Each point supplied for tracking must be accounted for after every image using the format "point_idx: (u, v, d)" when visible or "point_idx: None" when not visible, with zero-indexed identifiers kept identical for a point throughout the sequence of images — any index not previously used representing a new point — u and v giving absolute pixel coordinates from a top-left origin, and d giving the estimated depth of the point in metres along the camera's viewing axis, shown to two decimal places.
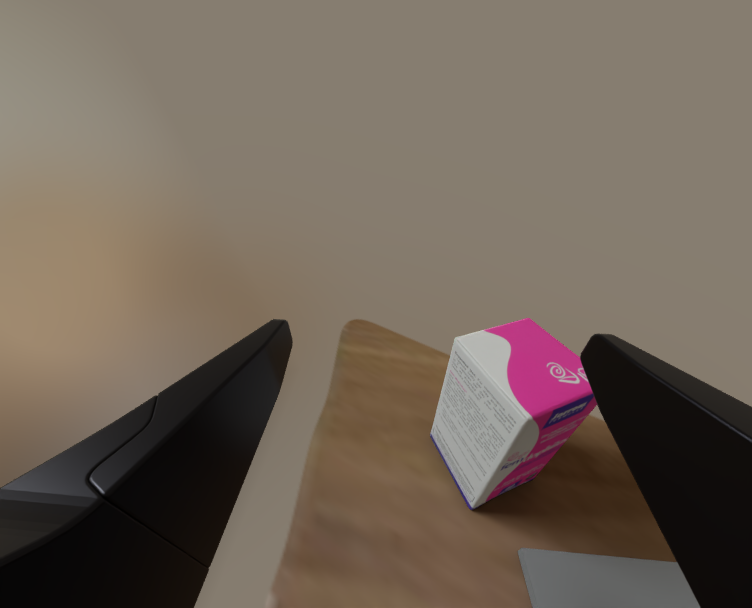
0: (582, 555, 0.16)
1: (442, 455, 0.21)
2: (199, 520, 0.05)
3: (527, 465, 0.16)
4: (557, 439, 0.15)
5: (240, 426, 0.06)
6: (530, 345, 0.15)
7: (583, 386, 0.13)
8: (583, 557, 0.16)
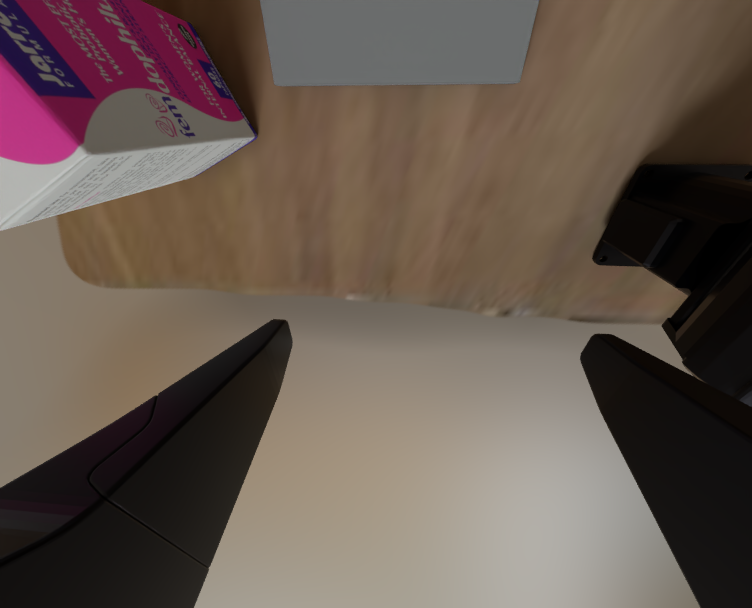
0: None
1: (212, 165, 0.18)
2: (199, 520, 0.05)
3: (172, 72, 0.12)
4: (98, 19, 0.09)
5: (240, 426, 0.06)
6: None
7: None
8: None
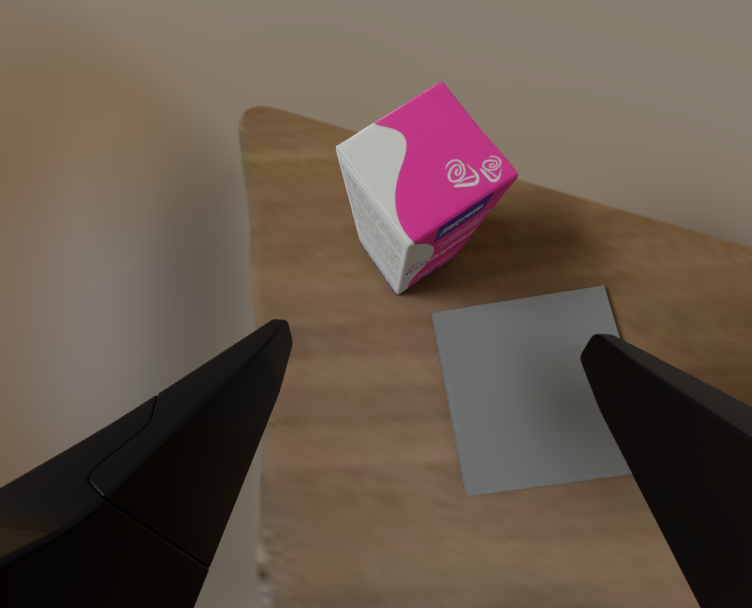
0: (477, 306, 0.21)
1: (371, 258, 0.22)
2: (199, 520, 0.05)
3: (436, 260, 0.17)
4: (461, 236, 0.15)
5: (240, 426, 0.06)
6: (432, 135, 0.11)
7: (481, 187, 0.11)
8: (478, 307, 0.21)
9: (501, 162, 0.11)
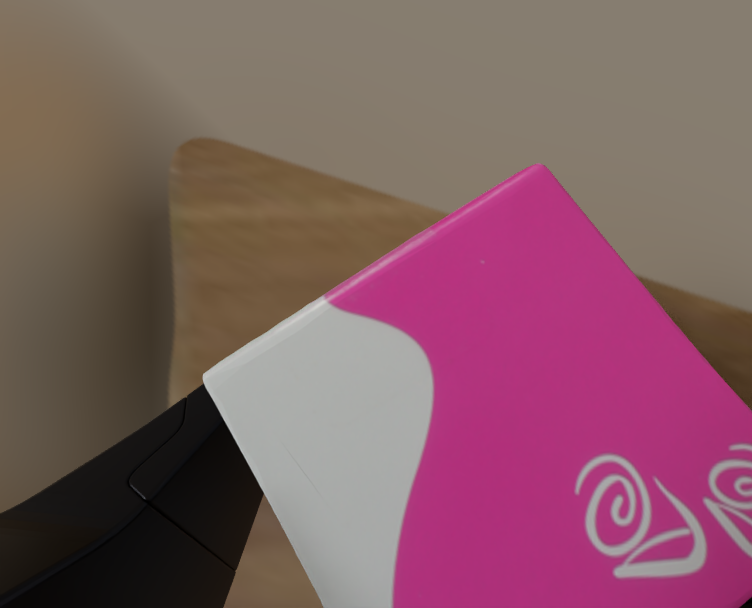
0: None
1: None
2: (228, 523, 0.05)
3: None
4: None
5: None
6: (523, 356, 0.03)
7: (717, 585, 0.03)
8: None
9: None
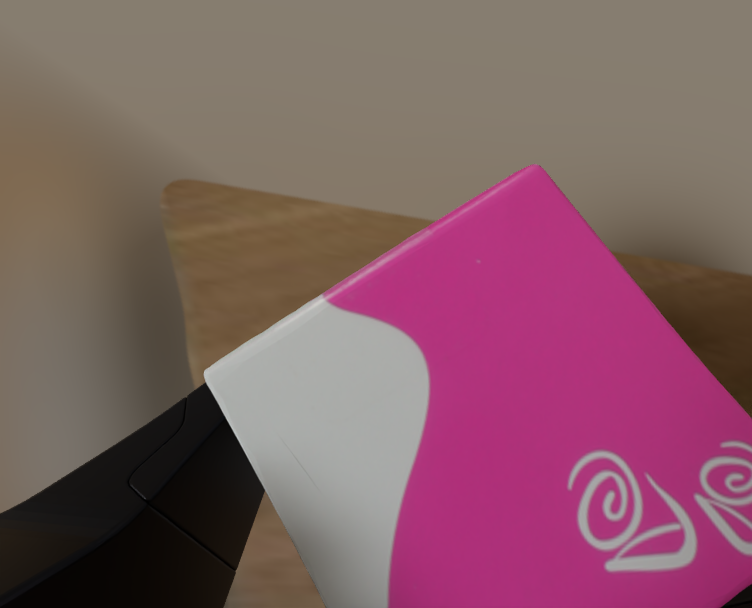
0: None
1: None
2: (228, 523, 0.05)
3: None
4: None
5: None
6: (518, 354, 0.03)
7: (706, 579, 0.03)
8: None
9: None
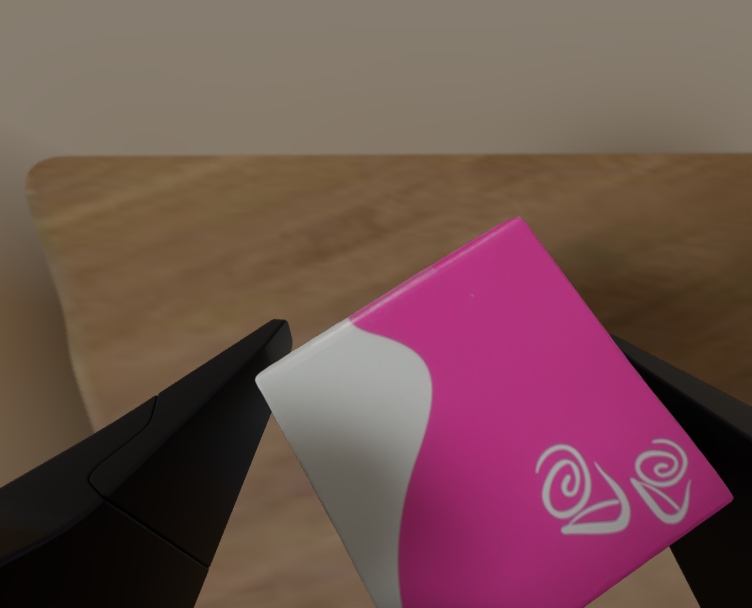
0: None
1: None
2: (199, 520, 0.05)
3: None
4: None
5: (240, 426, 0.06)
6: (501, 369, 0.04)
7: (636, 540, 0.04)
8: None
9: (687, 462, 0.04)
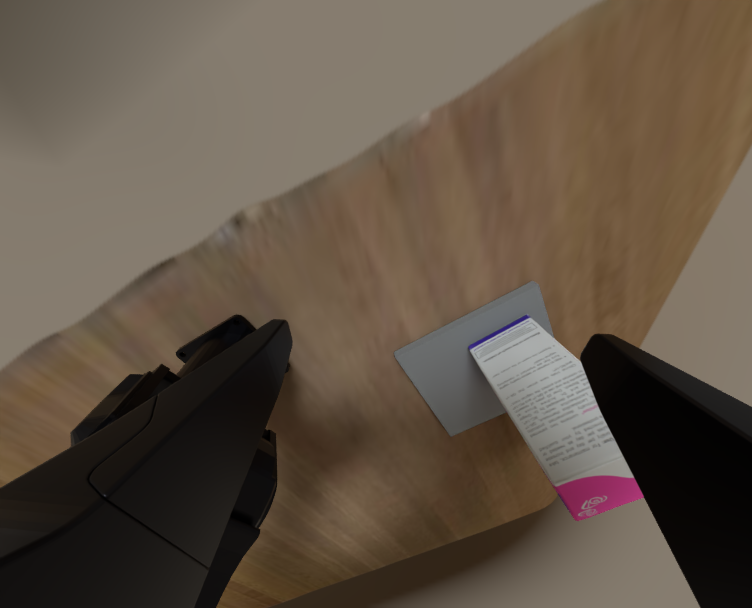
0: (546, 316, 0.23)
1: (508, 328, 0.22)
2: (199, 520, 0.05)
3: None
4: None
5: (240, 426, 0.06)
6: (632, 488, 0.14)
7: (577, 510, 0.15)
8: (545, 317, 0.23)
9: (589, 515, 0.16)
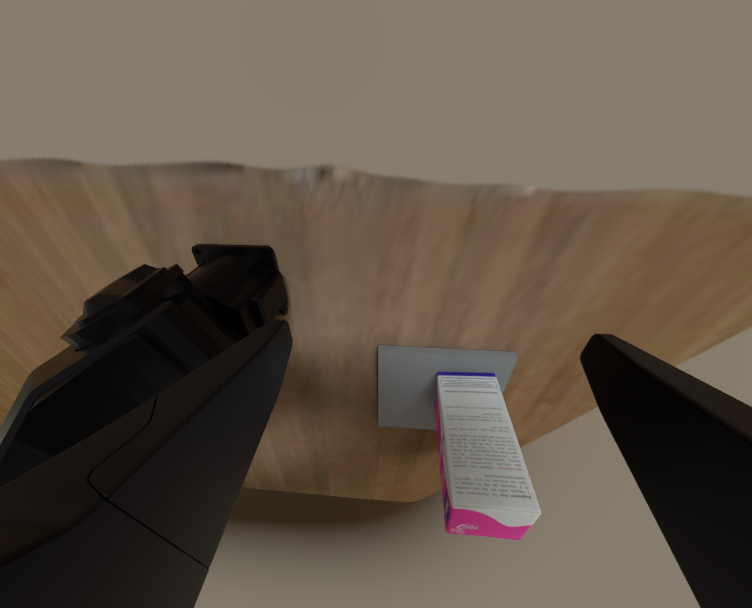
0: (506, 382, 0.27)
1: (476, 376, 0.26)
2: (199, 520, 0.05)
3: (439, 433, 0.24)
4: (440, 464, 0.23)
5: (240, 426, 0.06)
6: (497, 529, 0.19)
7: (453, 526, 0.20)
8: (505, 382, 0.27)
9: (457, 532, 0.20)
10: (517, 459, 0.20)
